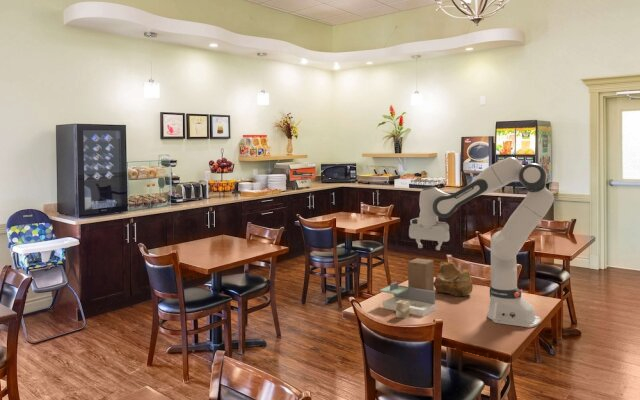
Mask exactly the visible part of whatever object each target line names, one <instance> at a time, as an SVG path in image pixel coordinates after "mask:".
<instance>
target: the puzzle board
mask: <svg viewBox="0 0 640 400" xmlns="http://www.w3.org/2000/svg"><path fill="white" fill-rule="evenodd" d="M398 287H404V288H408V290H407V291H405V292H402V293H400V294H398V295H396V294H393V295H394V296H392V297H390V298H389V299H386V300H384V301H382V309H387V310H389V311H390V310H391V311H395V312H396V302H397V301H399V300H404V301H409V315H413V316H418V317H423V318H424V317H425V316H427V315H429V314H431V313H432V312H434V311H436V291H435V290H434V291H429V290H423V289H418V288H412V287H408V286H406V285H400V284H398Z"/></svg>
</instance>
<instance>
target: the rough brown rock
mask: <svg viewBox="0 0 640 400" xmlns="http://www.w3.org/2000/svg"><path fill="white" fill-rule="evenodd" d="M438 267H439V269H438V272H437V275H436V277H435V278H434V290H435V292H436V293H441V294H442V293H447V294H449V295H452V296H454V297H460V296H462V297H463V296H468V295H470V294H471V293H472V292H473V289H474V288H473V286H474V285H473V280H472V277H471V272H470V270H469V269H463V270H461V269H460V268H458V267H457V265H456V263H455V262H451V261H447V262H446V261H440V262H439V266H438Z"/></svg>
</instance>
